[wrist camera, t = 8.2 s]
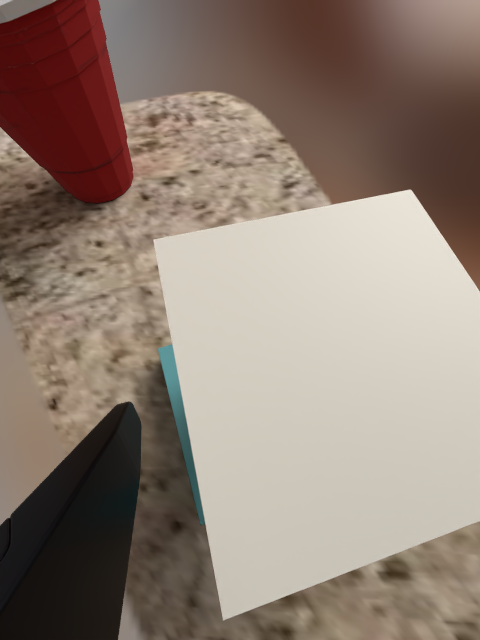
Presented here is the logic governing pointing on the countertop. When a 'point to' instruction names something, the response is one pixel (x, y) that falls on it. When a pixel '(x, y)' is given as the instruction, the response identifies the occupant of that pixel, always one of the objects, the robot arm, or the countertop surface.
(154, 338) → the countertop surface
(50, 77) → the plastic cup
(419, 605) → the countertop surface
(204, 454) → the cream block
